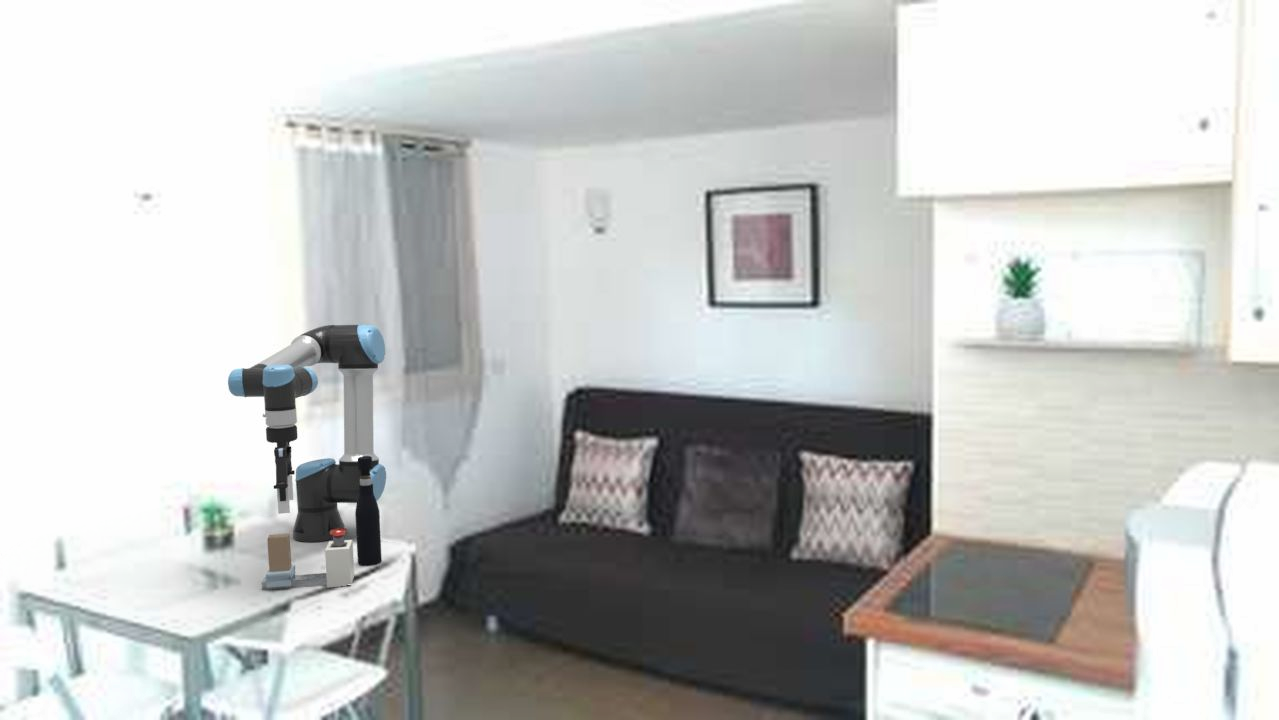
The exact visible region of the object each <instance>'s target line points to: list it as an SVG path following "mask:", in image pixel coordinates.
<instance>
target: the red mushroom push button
mask: <svg viewBox="0 0 1279 720" xmlns="http://www.w3.org/2000/svg"><path fill="white" fill-rule="evenodd" d="M346 534H347V528H345V527H344V528H335V529H332V530H330V535H331V536H333V539H332V541H333V547H345V544H344V540H345V535H346Z"/></svg>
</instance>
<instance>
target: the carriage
mask: <svg viewBox="0 0 1279 720" xmlns="http://www.w3.org/2000/svg"><path fill="white" fill-rule="evenodd" d="M290 535H291V534H290V533H277V534H276V533H275V534H269V535H268V536H267V556H268V570H267V572H266V573H265V577H266V586H267V588H268V587H282V586H291V585H292V582H291V579H292V577H293V575H296V564H292V552H291V551H292V550H291V536H290Z"/></svg>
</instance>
